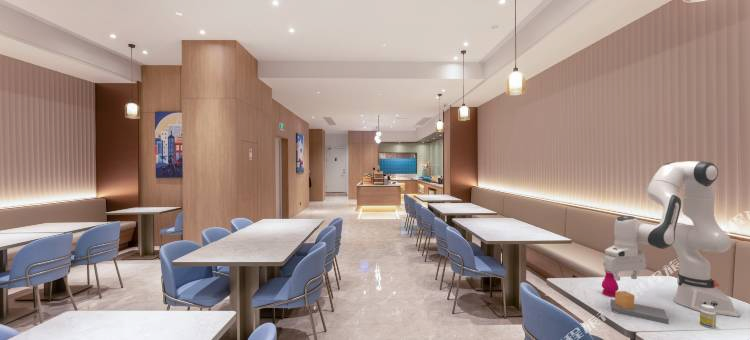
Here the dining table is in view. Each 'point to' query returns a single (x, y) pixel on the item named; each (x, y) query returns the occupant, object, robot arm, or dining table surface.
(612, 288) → the pepper mill
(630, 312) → the plate
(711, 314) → the supplement bottle
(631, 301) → the tangerine wooden cube
